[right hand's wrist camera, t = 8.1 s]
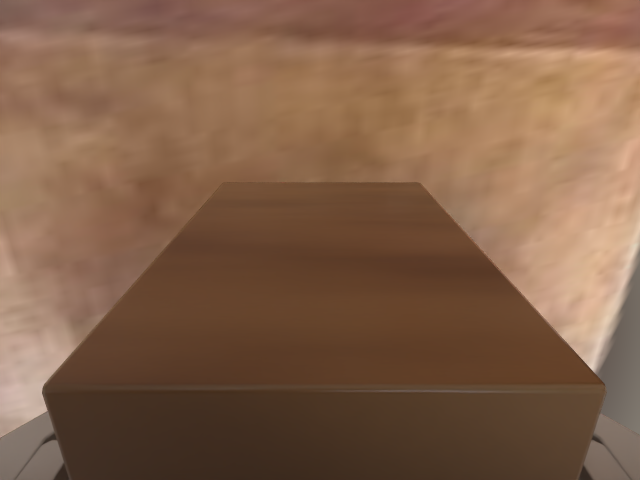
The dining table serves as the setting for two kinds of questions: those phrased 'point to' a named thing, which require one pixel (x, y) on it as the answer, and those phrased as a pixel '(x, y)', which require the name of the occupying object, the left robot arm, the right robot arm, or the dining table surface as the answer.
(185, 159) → the dining table surface
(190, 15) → the dining table surface
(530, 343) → the box
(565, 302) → the dining table surface
